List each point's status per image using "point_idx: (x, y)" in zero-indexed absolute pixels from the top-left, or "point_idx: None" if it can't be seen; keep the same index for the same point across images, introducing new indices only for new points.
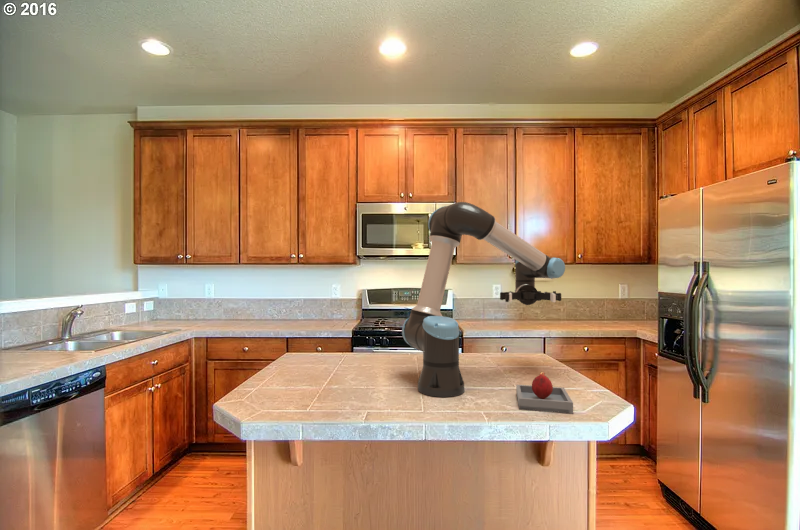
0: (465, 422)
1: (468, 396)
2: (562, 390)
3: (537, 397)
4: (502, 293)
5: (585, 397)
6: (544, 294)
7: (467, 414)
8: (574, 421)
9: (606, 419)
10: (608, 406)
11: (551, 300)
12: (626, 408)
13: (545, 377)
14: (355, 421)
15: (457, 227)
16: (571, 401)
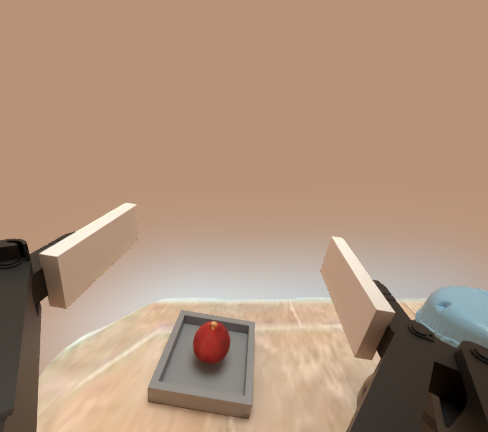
0: (310, 299)
1: (340, 391)
2: (163, 366)
3: (214, 370)
4: (459, 345)
5: (93, 408)
6: (26, 341)
7: (315, 317)
8: (191, 302)
9: (146, 307)
10: (94, 353)
11: (102, 268)
12: (70, 346)
13: (209, 322)
14: (408, 300)
15: None
16: (180, 314)
